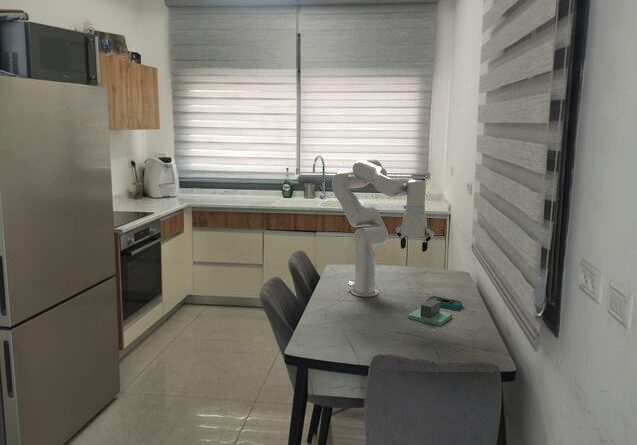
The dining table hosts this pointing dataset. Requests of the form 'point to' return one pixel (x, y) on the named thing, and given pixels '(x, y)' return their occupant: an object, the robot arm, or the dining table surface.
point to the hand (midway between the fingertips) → (413, 249)
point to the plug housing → (430, 308)
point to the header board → (436, 320)
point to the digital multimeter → (447, 303)
